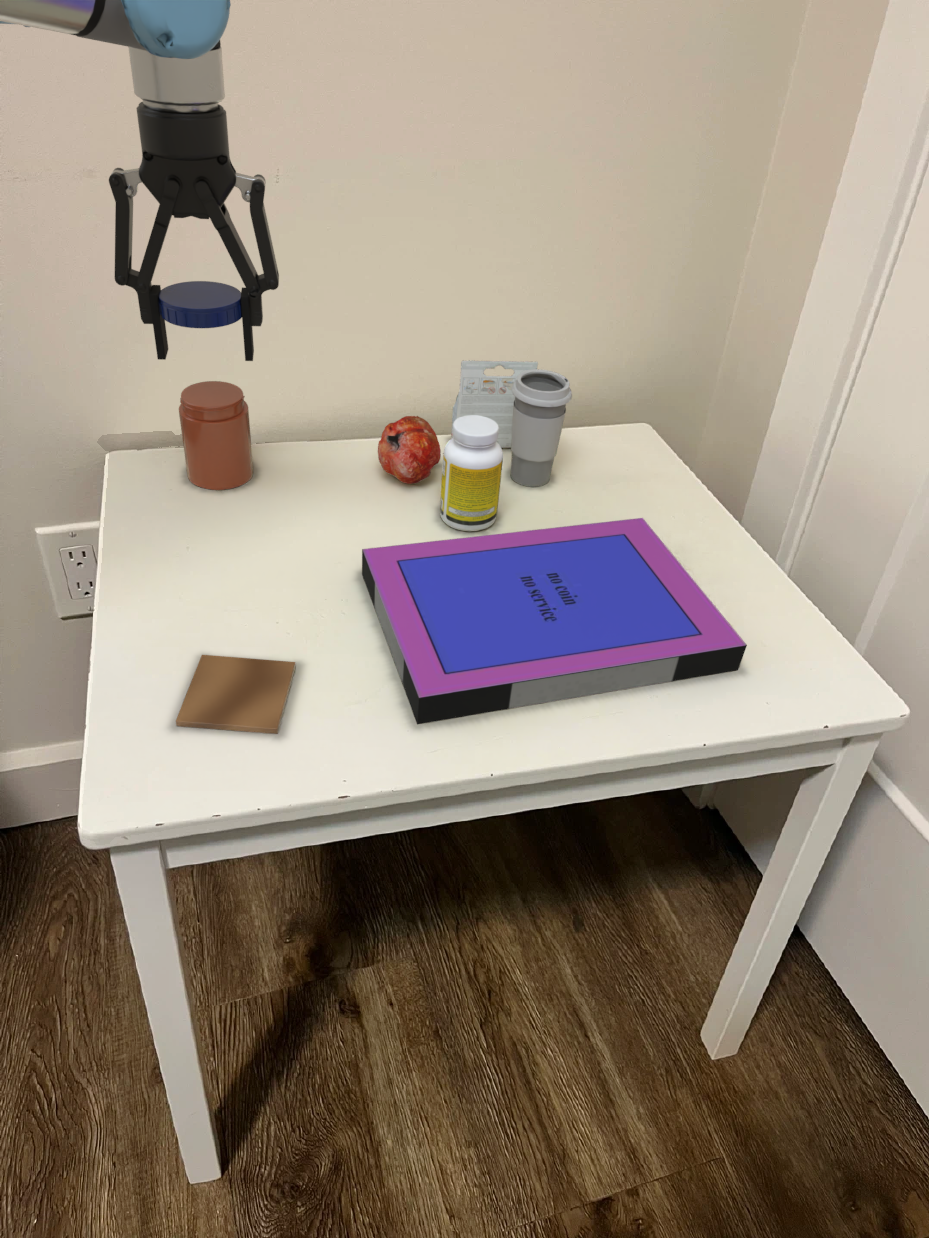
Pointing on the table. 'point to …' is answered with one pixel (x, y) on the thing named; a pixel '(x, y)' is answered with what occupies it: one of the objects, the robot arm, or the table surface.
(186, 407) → the jar
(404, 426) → the pomegranate
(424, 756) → the table surface
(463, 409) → the ink box
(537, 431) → the cup
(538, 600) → the book
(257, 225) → the robot arm
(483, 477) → the pill bottle
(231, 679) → the cork mat
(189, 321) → the lid
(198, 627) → the table surface
